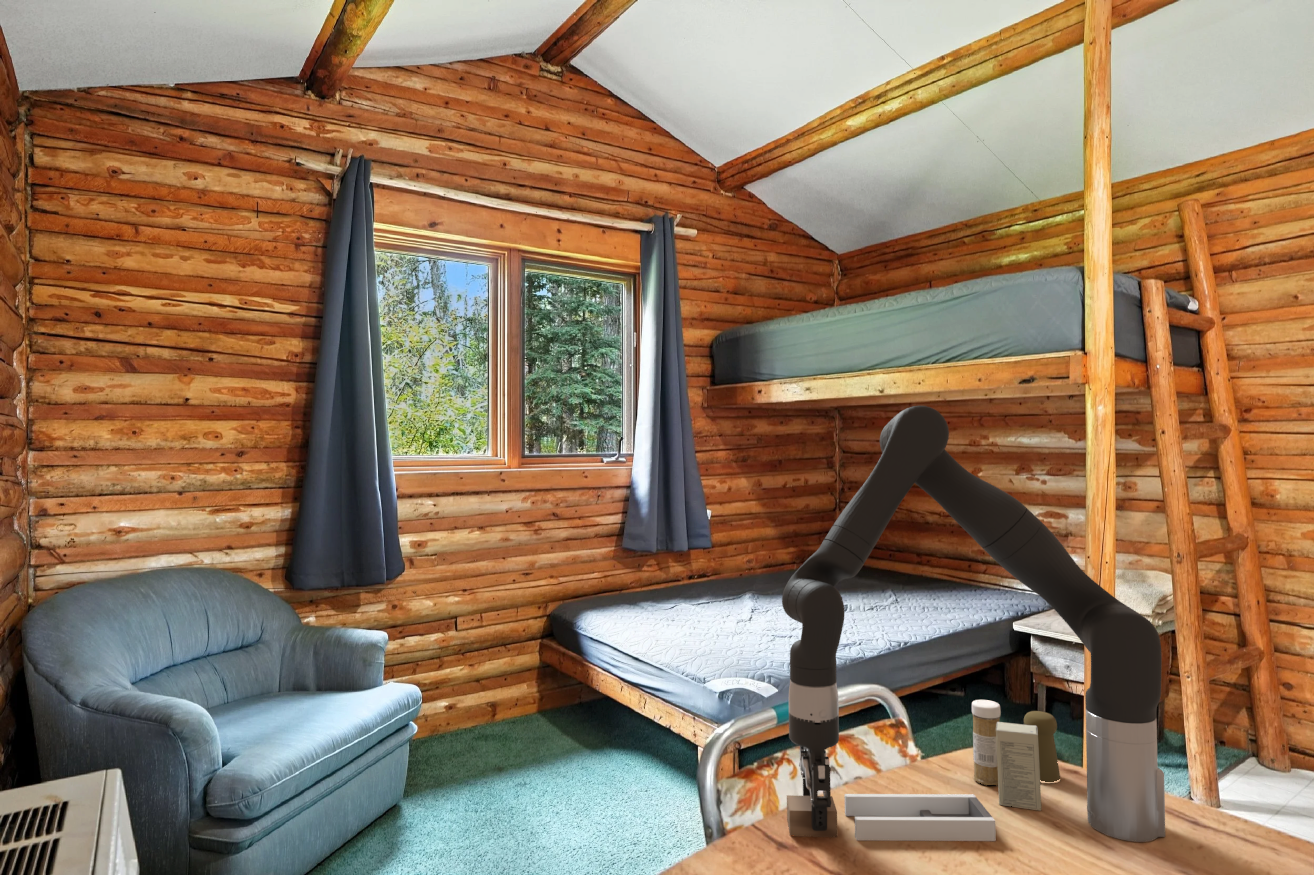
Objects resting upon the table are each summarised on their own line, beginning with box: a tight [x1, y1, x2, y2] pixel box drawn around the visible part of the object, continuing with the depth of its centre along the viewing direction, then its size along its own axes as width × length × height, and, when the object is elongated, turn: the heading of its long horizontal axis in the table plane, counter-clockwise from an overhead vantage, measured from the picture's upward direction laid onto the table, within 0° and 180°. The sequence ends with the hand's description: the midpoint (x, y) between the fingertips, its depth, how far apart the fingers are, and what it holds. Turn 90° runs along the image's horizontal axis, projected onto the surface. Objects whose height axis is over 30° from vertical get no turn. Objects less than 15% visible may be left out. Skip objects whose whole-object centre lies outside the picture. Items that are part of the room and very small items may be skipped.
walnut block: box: [786, 794, 838, 838], centre depth 118 cm, size 7×5×4 cm
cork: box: [1023, 710, 1061, 782], centre depth 136 cm, size 6×6×11 cm
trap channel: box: [844, 793, 997, 842], centre depth 119 cm, size 20×8×3 cm, turn 88°
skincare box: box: [996, 721, 1042, 811], centre depth 126 cm, size 6×4×12 cm
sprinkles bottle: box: [971, 699, 1002, 786], centre depth 134 cm, size 5×5×14 cm
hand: (814, 815), depth 119 cm, fingers open, 8 cm apart
